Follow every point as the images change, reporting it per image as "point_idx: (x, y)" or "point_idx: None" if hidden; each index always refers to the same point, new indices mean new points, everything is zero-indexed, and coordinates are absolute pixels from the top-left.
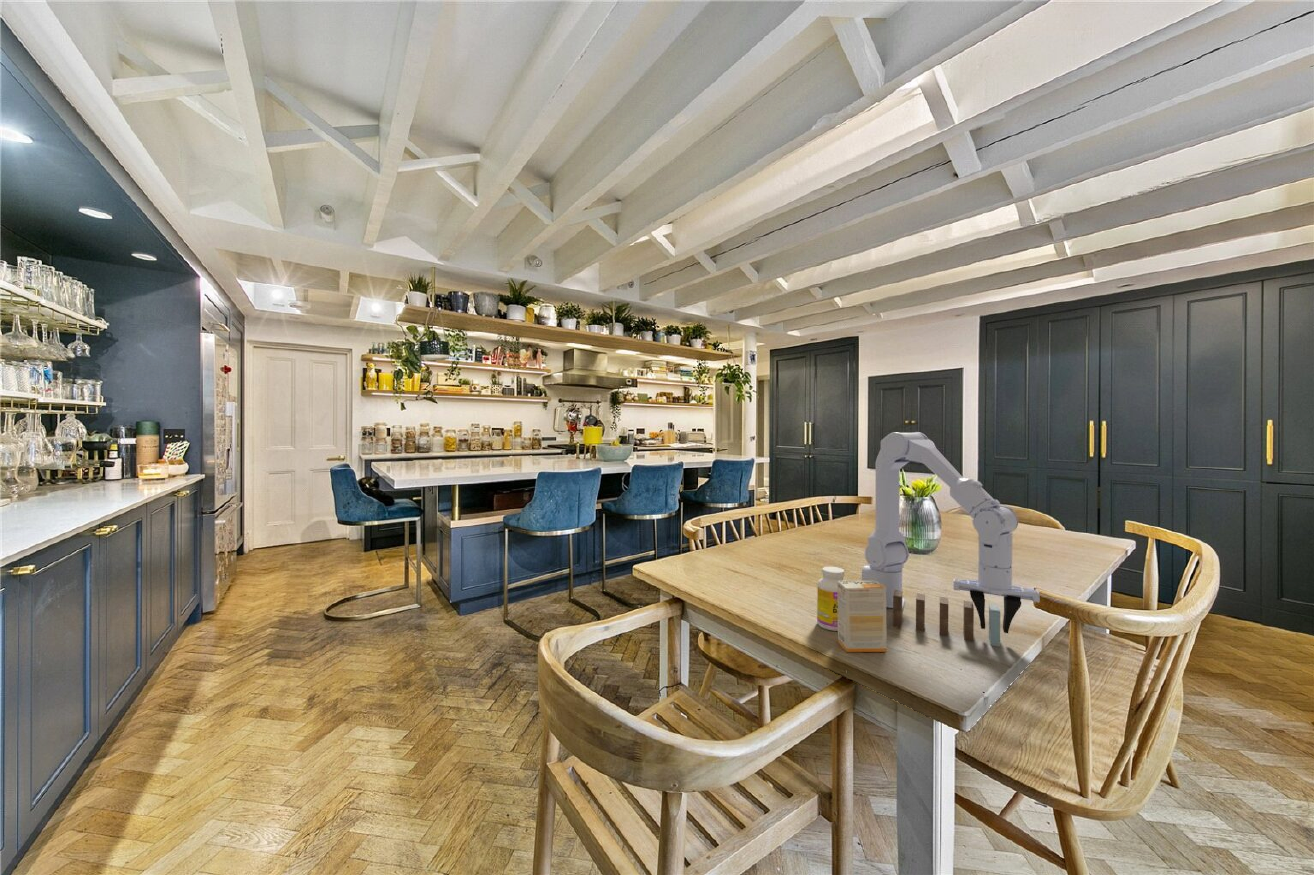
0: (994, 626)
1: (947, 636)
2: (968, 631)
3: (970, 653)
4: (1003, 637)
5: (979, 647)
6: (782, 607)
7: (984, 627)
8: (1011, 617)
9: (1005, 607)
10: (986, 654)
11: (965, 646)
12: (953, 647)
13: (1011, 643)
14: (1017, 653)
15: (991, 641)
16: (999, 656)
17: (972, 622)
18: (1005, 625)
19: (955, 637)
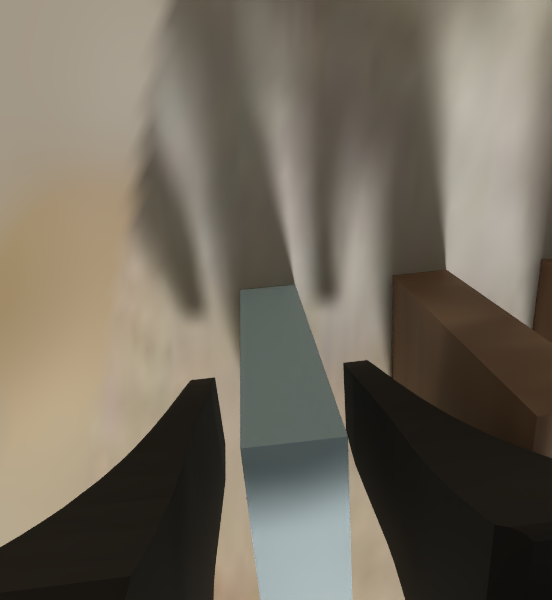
0: (285, 349)
1: (546, 259)
2: (451, 293)
3: (427, 17)
4: (226, 454)
5: (361, 191)
6: None
7: (352, 365)
8: (131, 460)
9: (183, 578)
10: (320, 77)
11: (449, 147)
12: (533, 66)
13: (181, 390)
14: (136, 241)
15: (291, 294)
16: (238, 98)
17: (460, 333)
18: (200, 404)
19: (496, 278)
